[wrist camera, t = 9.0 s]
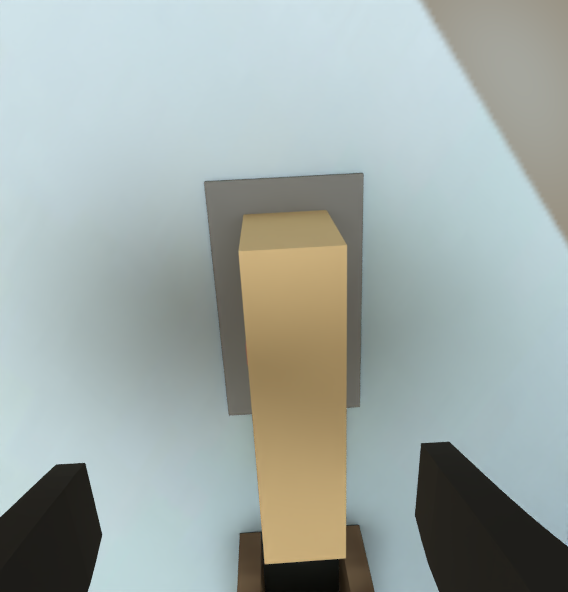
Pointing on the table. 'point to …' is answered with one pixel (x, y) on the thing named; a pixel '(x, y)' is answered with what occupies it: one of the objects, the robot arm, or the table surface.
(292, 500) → the tan rectangular block
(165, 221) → the table surface
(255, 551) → the brown wooden open box
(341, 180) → the mat
